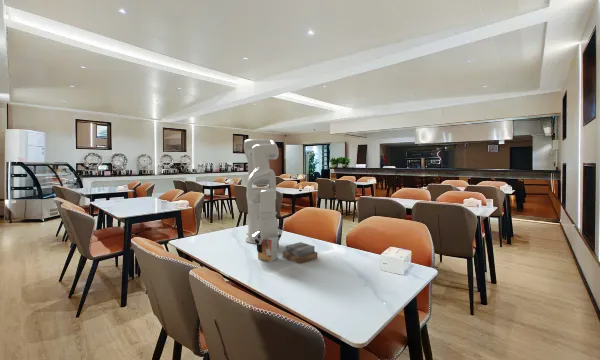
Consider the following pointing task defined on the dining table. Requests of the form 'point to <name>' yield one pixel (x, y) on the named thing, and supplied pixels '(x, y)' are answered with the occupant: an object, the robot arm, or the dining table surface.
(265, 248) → the small box
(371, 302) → the dining table surface
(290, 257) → the tower base
